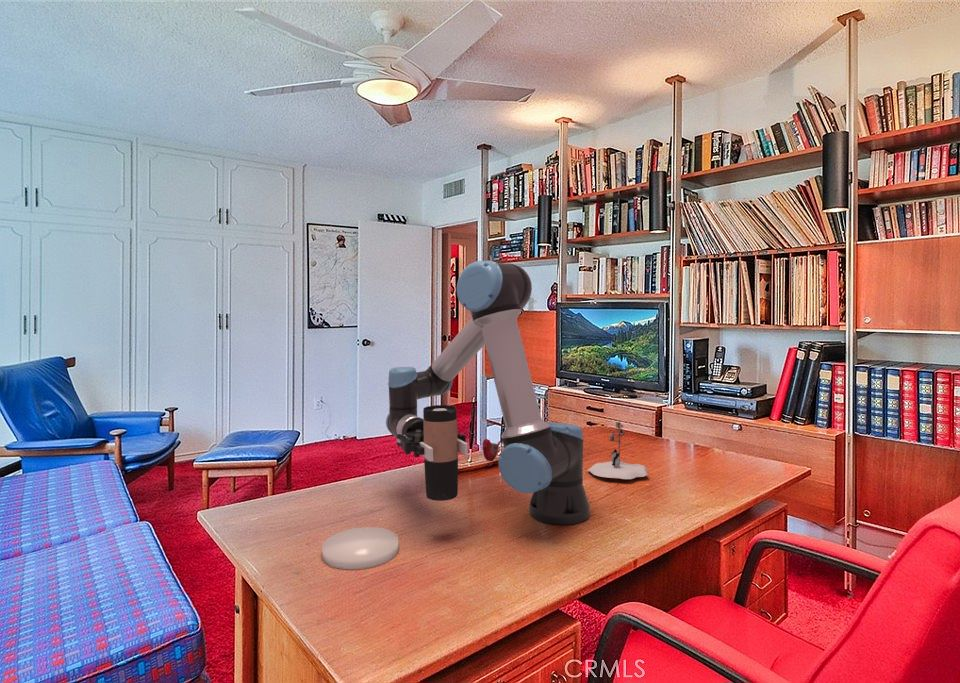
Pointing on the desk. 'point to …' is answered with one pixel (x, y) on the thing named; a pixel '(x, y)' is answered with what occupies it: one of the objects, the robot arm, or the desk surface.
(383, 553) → the white round disc
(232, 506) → the desk surface
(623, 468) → the figurine
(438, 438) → the travel mug
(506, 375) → the robot arm
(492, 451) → the decorative bird figurine
